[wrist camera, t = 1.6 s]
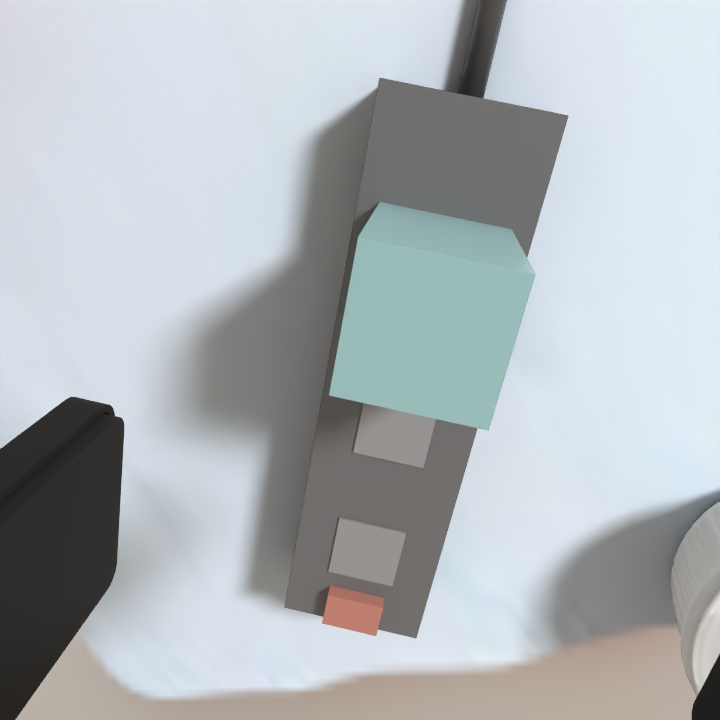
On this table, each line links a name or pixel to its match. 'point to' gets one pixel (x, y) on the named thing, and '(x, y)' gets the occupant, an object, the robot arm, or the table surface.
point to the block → (431, 315)
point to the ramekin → (698, 596)
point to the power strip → (392, 427)
